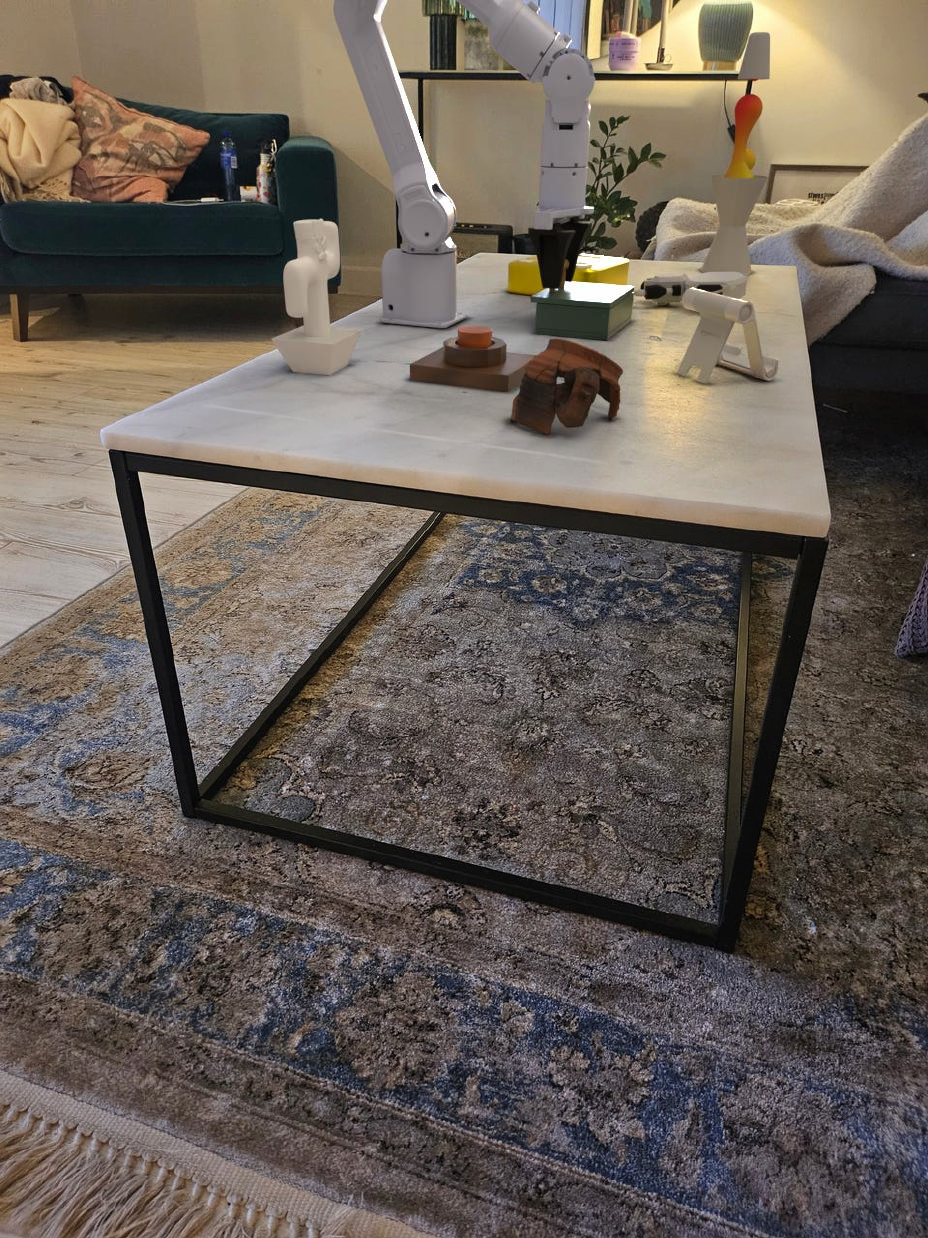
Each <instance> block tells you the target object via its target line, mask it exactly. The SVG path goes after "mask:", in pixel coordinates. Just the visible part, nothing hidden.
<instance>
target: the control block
mask: <svg viewBox="0 0 928 1238" xmlns="http://www.w3.org/2000/svg"><path fill="white" fill-rule="evenodd" d="M442 344H443V345H442V347H440V348H438V349H436V350H434V351H432V352H431V353H429V354H426V355H425V356H423V357H421V358H419V359H418V360H415V361H413V362H412V363H410V364H409V381H413V382H420V383H429V384H437V385H445V386H454V387H462V388H470V389H479V390H486V391H487V390H488V391H494V392H495V391H497V392H504V393H509V392H510V391H512V390H513V389H515V387H518V385H521V383H522V382H521V380H522V378H523V376H524V374H525V373H526V371H525V367H526V366H527V365H528V363H529V361H530V360H532V359H533V358H534V357H535V356H536V355H537V354H536V355H535V354H527V353H526V354H525V353H517V352H509V351H507V347H508V346H507V345H508V344H507V342H506V341H505V340H504V339H502V338H499V337H496V336H495V337H494V336H492V345H491V346H486V347H464V346H460V345H458V336H454V337H449V338H447V339H445V340H444V341H443V342H442Z"/></svg>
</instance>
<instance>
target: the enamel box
mask: <svg viewBox="0 0 928 1238" xmlns="http://www.w3.org/2000/svg"><path fill="white" fill-rule="evenodd" d="M634 296H635V295H634V292H633V293H631V294H630V295H629V296H627V297H626V298H624V299H623V300H621V301H620V302H618V303H617V304H616V305H614V306H613V307H611V308H610V309H606V308H594V307H582V306H570V305H558V304H546V303H535V304H536V306H535V307H536V308H535V330H534V333H535V335H544V336H545V335H546V336H556V337H565V338H566V337H569V338H575V339H577V338H578V339H587V340H596V341H597V340H598V341H608V340H609V339H611V338H612V337H613V336H615V335H616V334H617V333H618V332H620V331H621V330H622V329H623V328H624V327H626V326H627V325H628V324H630V323H631V322H632V316H633V307H634V305H633V304H634Z"/></svg>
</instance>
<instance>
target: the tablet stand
mask: <svg viewBox="0 0 928 1238" xmlns="http://www.w3.org/2000/svg"><path fill="white" fill-rule="evenodd" d="M681 304H682V307H683V308H684V309H686V310H690V311H693V312H697V313H699V315H700V316H699V317H700V318H699V321H698V323H697V326H696V328H695V331H694V333H693V335H692V337H691V340H690V342H689V344H688V346H687V348H686V351H685V353H684V355H683V358H682V360H681V362H680V364H679V366H678V368H677V374H678V375H680V376H683V377H685V378H686V377H687V375H688V374H689V372H690V370H691V369H692V368H693V367H696V368H699V373H698V376H697V379H696V381H697V382H699V383H700V384H707V383H708V382H709V380H710V378H711V376H712V374H713V372H714V369H715V368H716V366H721V367H726V368H728V369H732V370H734V371H738V372H741V373H744V374H746V375H750V376H752V377H755V378H756V379H759V380H762V381H769V382H770V381H772V380H773V379H775V378H776V376H777V374H778V371H779V358H776V357H773V356H769V355H767V354H763V351H762V346H761V340H760V334H759V327H758V323H757V316H756V312H755V311H756V310H755V307H754V304H753V303H752V302H750V301H747V300H743V299H735V298H731V297H727V296H723V295H719V294H715V293H711V292H707V291H703V290H699V289H695V288H689V289H687V290H686V291H685V292H684V294H683V297H682V300H681ZM735 323H736V324H738V325H739V324H740V325H742V330H743V337H744V340H745V346H746V353H747V356H745V355H742V352H743V351H742V350H743V348H742V347H740V346H737V345H733V344H731V343H727V341H728V339H729V336H730V334H731V332H732V330H733V327H734V325H735Z"/></svg>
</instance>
